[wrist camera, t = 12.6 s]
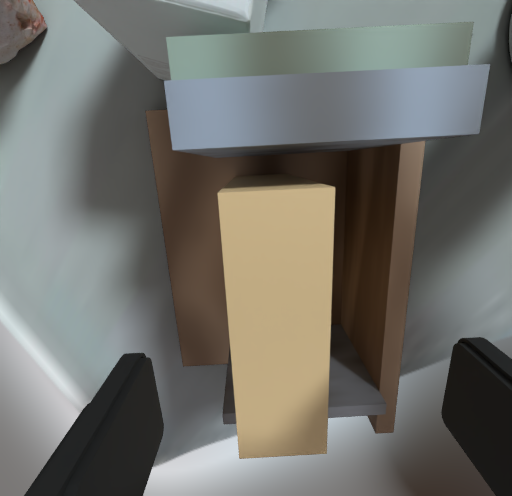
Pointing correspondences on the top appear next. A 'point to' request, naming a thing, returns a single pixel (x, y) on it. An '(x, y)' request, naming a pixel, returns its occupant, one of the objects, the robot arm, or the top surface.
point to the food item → (18, 26)
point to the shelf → (312, 175)
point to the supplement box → (171, 23)
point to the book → (279, 310)
